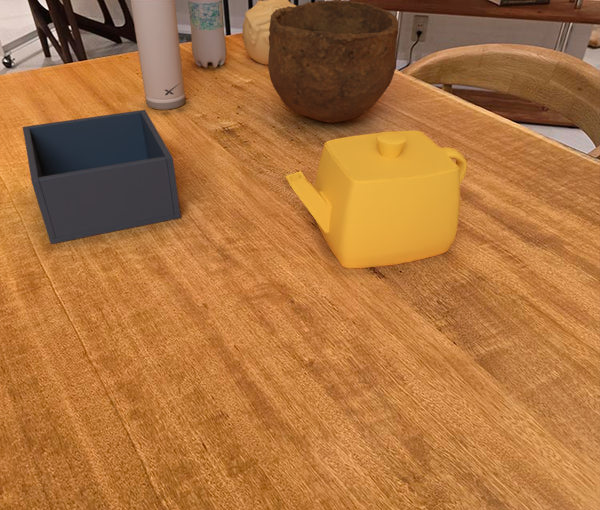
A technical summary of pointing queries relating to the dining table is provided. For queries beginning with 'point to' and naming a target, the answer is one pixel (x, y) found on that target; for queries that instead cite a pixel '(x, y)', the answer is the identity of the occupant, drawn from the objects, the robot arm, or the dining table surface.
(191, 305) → the dining table surface
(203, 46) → the bottle
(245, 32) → the sculpture
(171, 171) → the box
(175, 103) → the travel mug
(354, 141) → the teapot
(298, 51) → the bowl
